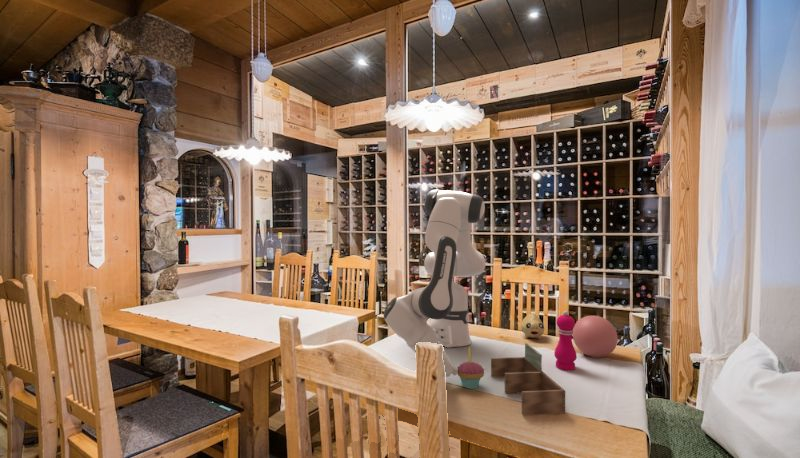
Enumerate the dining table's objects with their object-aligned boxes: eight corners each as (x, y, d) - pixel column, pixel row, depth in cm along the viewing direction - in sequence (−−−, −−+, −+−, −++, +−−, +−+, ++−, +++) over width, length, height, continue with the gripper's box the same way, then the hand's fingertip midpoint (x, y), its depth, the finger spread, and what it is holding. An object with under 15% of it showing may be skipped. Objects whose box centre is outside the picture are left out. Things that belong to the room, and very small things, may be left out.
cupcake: (454, 380, 127) (454, 343, 127) (480, 379, 128) (480, 343, 128) (459, 391, 119) (460, 352, 119) (487, 391, 119) (487, 351, 119)
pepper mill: (552, 363, 143) (552, 308, 142) (573, 364, 142) (573, 309, 141) (556, 370, 136) (557, 312, 135) (579, 371, 134) (579, 313, 134)
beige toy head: (522, 341, 168) (523, 316, 168) (519, 333, 180) (519, 310, 180) (547, 343, 166) (547, 318, 166) (542, 334, 178) (542, 311, 178)
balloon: (599, 346, 162) (599, 308, 162) (625, 363, 142) (626, 321, 142) (561, 345, 163) (561, 308, 162) (582, 363, 143) (583, 321, 142)
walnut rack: (522, 414, 105) (522, 373, 104) (491, 375, 131) (491, 343, 131) (565, 412, 106) (565, 372, 106) (525, 374, 132) (525, 342, 132)
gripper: (438, 345, 112) (471, 378, 113) (427, 325, 132) (455, 354, 133) (422, 361, 111) (456, 394, 112) (413, 339, 132) (442, 367, 133)
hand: (455, 372), depth 123 cm, fingers closed, pressing on cupcake
